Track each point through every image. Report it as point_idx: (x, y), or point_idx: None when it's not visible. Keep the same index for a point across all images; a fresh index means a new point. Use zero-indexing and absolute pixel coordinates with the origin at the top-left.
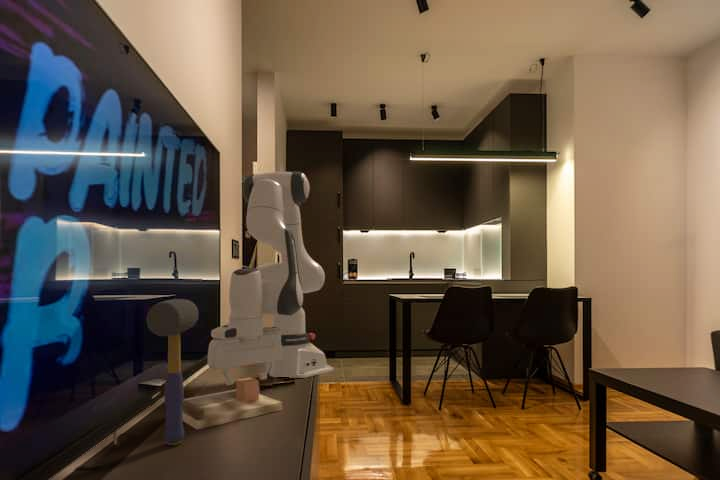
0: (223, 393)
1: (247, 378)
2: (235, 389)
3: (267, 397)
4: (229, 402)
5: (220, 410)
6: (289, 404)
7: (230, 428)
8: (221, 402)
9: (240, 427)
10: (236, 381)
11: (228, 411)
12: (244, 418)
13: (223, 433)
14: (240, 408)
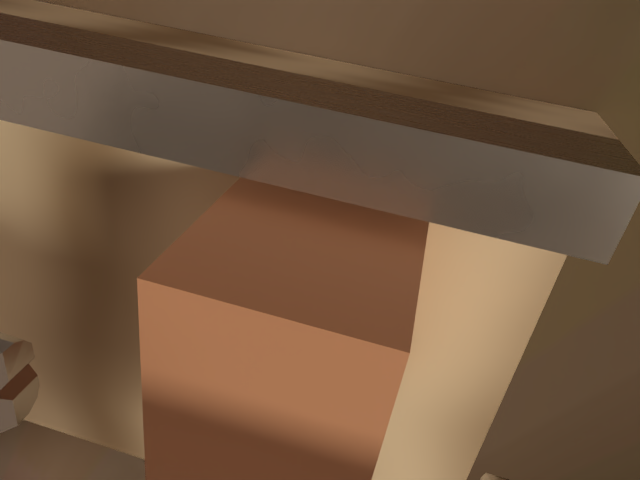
0: (64, 134)
1: (321, 371)
2: (263, 97)
3: (489, 394)
4: (141, 216)
5: (11, 333)
6: (603, 469)
7: (50, 448)
8: (83, 144)
9: (92, 475)
10: (151, 272)
11: (49, 392)
12: None
13: (6, 463)
14: (135, 413)
